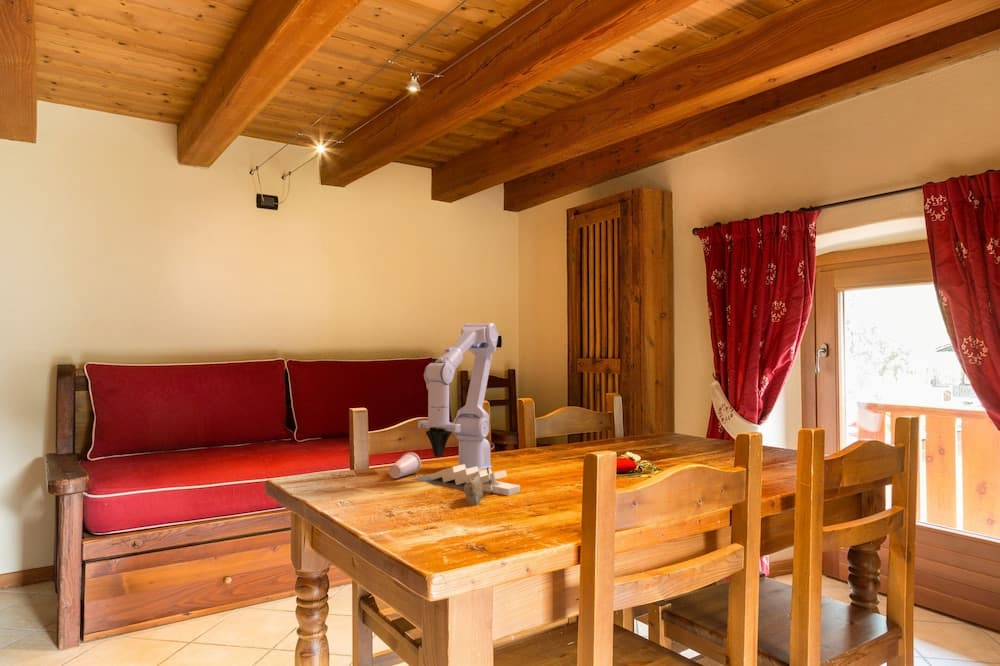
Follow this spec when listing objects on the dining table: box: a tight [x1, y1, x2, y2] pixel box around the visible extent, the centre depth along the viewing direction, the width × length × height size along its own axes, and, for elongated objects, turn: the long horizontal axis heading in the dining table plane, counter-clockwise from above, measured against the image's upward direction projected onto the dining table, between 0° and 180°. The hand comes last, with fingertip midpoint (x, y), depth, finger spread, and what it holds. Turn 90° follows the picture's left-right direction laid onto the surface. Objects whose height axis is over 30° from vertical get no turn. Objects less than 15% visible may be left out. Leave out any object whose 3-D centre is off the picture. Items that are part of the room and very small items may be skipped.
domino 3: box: [455, 468, 493, 485], centre depth 166 cm, size 2×5×9 cm
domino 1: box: [429, 464, 466, 480], centre depth 172 cm, size 2×5×9 cm
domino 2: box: [442, 466, 480, 483], centre depth 169 cm, size 2×5×9 cm
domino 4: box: [480, 469, 508, 484], centre depth 163 cm, size 2×5×9 cm
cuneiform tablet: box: [463, 467, 494, 507], centre depth 152 cm, size 7×4×12 cm
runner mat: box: [411, 474, 489, 495], centre depth 170 cm, size 10×26×1 cm, turn 50°
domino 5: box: [482, 480, 521, 497], centre depth 160 cm, size 2×5×9 cm
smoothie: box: [388, 451, 422, 479], centre depth 180 cm, size 6×6×14 cm
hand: (438, 456), depth 174 cm, fingers closed
